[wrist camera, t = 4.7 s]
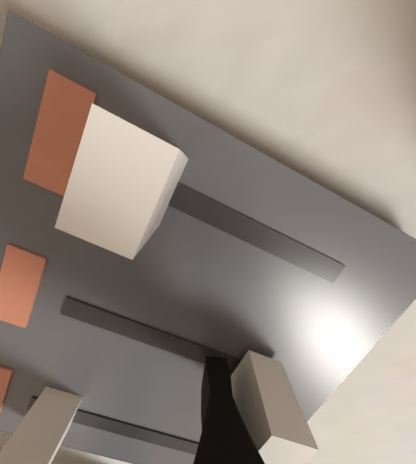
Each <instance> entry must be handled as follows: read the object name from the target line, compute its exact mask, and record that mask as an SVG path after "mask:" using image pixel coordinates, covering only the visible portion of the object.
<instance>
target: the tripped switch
mask: <svg viewBox="0 0 416 464" xmlns="http://www.w3.org/2000/svg"><path fill="white" fill-rule="evenodd" d="M231 385H232V396H233V398H234V401H235V403H236V405H237V408H238V410H239V412H240V415H241V417H242V419H243V421H244V423H245V425H246V428H247V430H248V432H249V434H250V436H251V438H252V440H253V442H254V444H255V446H256V448H257V450H258V452H259V454H260V455H261V457H262V459H263V461H264V463H265V464H305V463H306V462H307V461H308V460H309V459H310V458H311V457H312V456H313V455H314V454H315V453H316V452H317V451H318V447H317V445H316V442H315V440H314V438H313V435H312V433H311V431H310V428H309V426H308V424H307V421H306V419H305V417H304V414H303V412H302V410H301V407H300V405H299V402H298V400H297V398H296V395H295V393H294V391H293V388H292V386H291V384H290V381H289V379H288V377H287V374H286V372H285V370H284V367H283V365H282V362H280V361H277V360H274V359H272V358H269V357H266V356H264V355H261V354H258V353H256V352H253V351H250V350H248V352H247V353H246V355H245V356H244V358H243V359H242V360H241V362H240V363H239V365H238V366H237V368H236V369H235V371H234V372H233V374H232V375H231Z"/></svg>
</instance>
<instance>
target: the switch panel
mask: <svg viewBox="0 0 416 464" xmlns="http://www.w3.org/2000/svg"><path fill="white" fill-rule="evenodd" d="M415 299H416V239H415V238H413V237H411V236H409V235H408V234H406V233H404V232H402V231H401V230H399V229H397V228H395V227H393V226H392V225H390V224H388V223H386V222H385V221H383V220H381V219H379V218H377V217H376V216H374V215H372V214H370V213H369V212H367V211H365V210H363V209H361V208H360V207H358V206H356V205H354V204H353V203H351V202H349V201H347V200H346V199H344V198H342V197H340V196H338V195H337V194H335V193H333V192H331V191H330V190H328V189H326V188H324V187H322V186H321V185H319V184H317V183H315V182H314V181H312V180H310V179H308V178H306V177H305V176H303V175H301V174H299V173H298V172H296V171H294V170H292V169H290V168H289V167H287V166H285V165H283V164H282V163H280V162H278V161H276V160H274V159H273V158H271V157H269V156H267V155H266V154H264V153H262V152H260V151H259V150H257V149H255V148H253V147H251V146H250V145H248V144H246V143H244V142H243V141H241V140H239V139H237V138H235V137H234V136H232V135H230V134H228V133H227V132H225V131H223V130H221V129H219V128H218V127H216V126H214V125H212V124H211V123H209V122H207V121H205V120H203V119H202V118H200V117H198V116H196V115H195V114H193V113H191V112H189V111H187V110H186V109H184V108H182V107H180V106H179V105H177V104H175V103H173V102H171V101H170V100H168V99H166V98H164V97H163V96H161V95H159V94H157V93H156V92H154V91H152V90H150V89H148V88H147V87H145V86H143V85H141V84H140V83H138V82H136V81H134V80H132V79H131V78H129V77H127V76H125V75H124V74H122V73H120V72H118V71H116V70H115V69H113V68H111V67H109V66H108V65H106V64H104V63H102V62H100V61H99V60H97V59H95V58H93V57H92V56H90V55H88V54H86V53H84V52H83V51H81V50H79V49H77V48H76V47H74V46H72V45H70V44H69V43H67V42H65V41H63V40H61V39H60V38H58V37H56V36H54V35H53V34H51V33H49V32H47V31H45V30H44V29H42V28H40V27H38V26H37V25H35V24H33V23H31V22H29V21H28V20H26V19H24V18H22V17H21V16H19V15H17V14H15V13H13V12H12V11H10V10H8V15H7V20H6V26H5V31H4V36H3V42H2V47H1V53H0V431H3V432H7V433H11V434H12V435H11V436H10V438H9V439H8V440H7V442H6V443H5V445H4V446H3V447H2V449H1V450H0V464H51V463H52V461H53V459H54V457H55V455H56V453H57V451H58V449H59V447H60V446H64V447H68V448H72V449H76V450H80V451H84V452H88V453H92V454H96V455H100V456H104V457H108V458H112V459H116V460H120V461H124V462H128V463H132V464H193V463H194V459H195V455H196V452H197V448H198V444H199V441H200V437H201V433H202V425H201V386H202V379H203V372H204V365H205V358H206V356H209V357H227V361H228V365H229V369H230V375H232V374H233V372H234V371H235V369H236V368H237V366H238V365H239V363H240V362H241V360H242V359H243V358H244V356H245V355H246V353H247V352H248V350H250V351H253V352H256V353H258V354H261V355H264V356H266V357H269V358H272V359H274V360H277V361H280V362H282V365H283V367H284V370H285V372H286V374H287V377H288V379H289V381H290V384H291V386H292V388H293V391H294V393H295V395H296V398H297V400H298V402H299V405H300V407H301V410H302V412H303V414H304V417H305V419H306V421H308V420H309V419H310V417H311V416H312V415H313V414H314V413H315V412H316V411H317V410H318V408H319V407H320V406H321V405H322V404H323V403H324V402H325V401H326V399H327V398H328V397H329V396H330V395H331V394H332V393H333V392H334V390H335V389H336V388H337V387H338V386H339V385H340V384H341V383H342V381H343V380H344V379H345V378H346V377H347V376H348V375H349V373H350V372H351V371H352V370H353V369H354V368H355V367H356V366H357V364H358V363H359V362H360V361H361V360H362V359H363V358H364V357H365V355H366V354H367V353H368V352H369V351H370V350H371V349H372V348H373V346H374V345H375V344H376V343H377V342H378V341H379V340H380V339H381V337H382V336H383V335H384V334H385V333H386V332H387V331H388V329H389V328H390V327H391V326H392V325H393V324H394V323H395V322H396V320H397V319H398V318H399V317H400V316H401V315H402V314H403V313H404V311H405V310H406V309H407V308H408V307H409V306H410V305H411V304H412V302H413V301H414V300H415Z"/></svg>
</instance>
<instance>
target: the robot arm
mask: <svg viewBox="0 0 416 464" xmlns="http://www.w3.org/2000/svg"><path fill="white" fill-rule="evenodd" d="M201 425H202V433H201V437H200V441H199V444H198V448H197V452H196V455H195V459H194V463H193V464H265V463H264V461H263V459H262V457H261V455H260V454H259V452H258V450H257V448H256V446H255V444H254V442H253V440H252V438H251V436H250V434H249V432H248V430H247V428H246V425H245V423H244V421H243V419H242V417H241V415H240V412H239V410H238V408H237V405H236V403H235V401H234V398H233V396H232V385H231V375H230V369H229V365H228V361H227V357H209V356H206V358H205V365H204V372H203V379H202V386H201Z"/></svg>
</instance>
